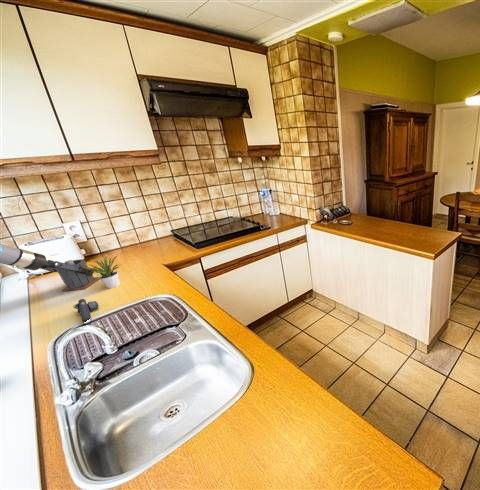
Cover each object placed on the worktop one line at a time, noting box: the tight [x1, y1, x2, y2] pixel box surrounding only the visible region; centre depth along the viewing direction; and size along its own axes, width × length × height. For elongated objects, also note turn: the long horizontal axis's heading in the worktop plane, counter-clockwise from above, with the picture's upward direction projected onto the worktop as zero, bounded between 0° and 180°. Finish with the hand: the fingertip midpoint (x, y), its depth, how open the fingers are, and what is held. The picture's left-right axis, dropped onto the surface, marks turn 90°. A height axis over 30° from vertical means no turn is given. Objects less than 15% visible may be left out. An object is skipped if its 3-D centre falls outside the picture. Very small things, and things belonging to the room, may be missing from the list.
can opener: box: [72, 298, 99, 323], centre depth 111 cm, size 18×7×6 cm, turn 44°
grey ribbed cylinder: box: [56, 258, 94, 288], centre depth 134 cm, size 10×10×11 cm
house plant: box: [85, 253, 122, 289], centre depth 133 cm, size 14×14×16 cm
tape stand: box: [61, 259, 101, 293], centre depth 134 cm, size 10×10×14 cm
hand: (83, 273), depth 137 cm, fingers closed on grey ribbed cylinder, 10 cm apart
